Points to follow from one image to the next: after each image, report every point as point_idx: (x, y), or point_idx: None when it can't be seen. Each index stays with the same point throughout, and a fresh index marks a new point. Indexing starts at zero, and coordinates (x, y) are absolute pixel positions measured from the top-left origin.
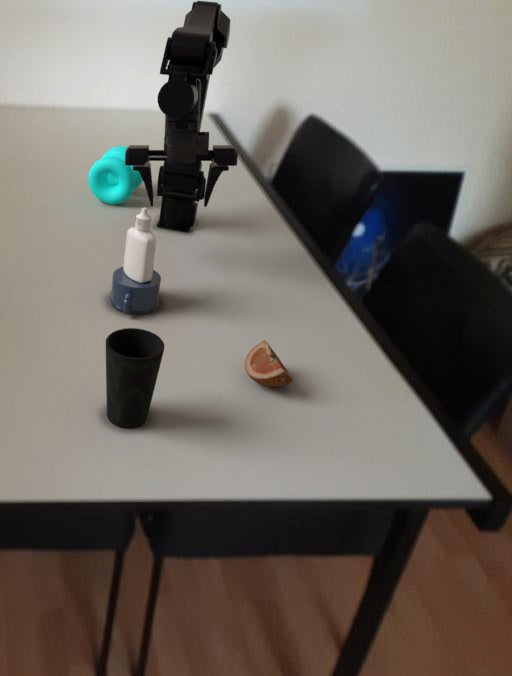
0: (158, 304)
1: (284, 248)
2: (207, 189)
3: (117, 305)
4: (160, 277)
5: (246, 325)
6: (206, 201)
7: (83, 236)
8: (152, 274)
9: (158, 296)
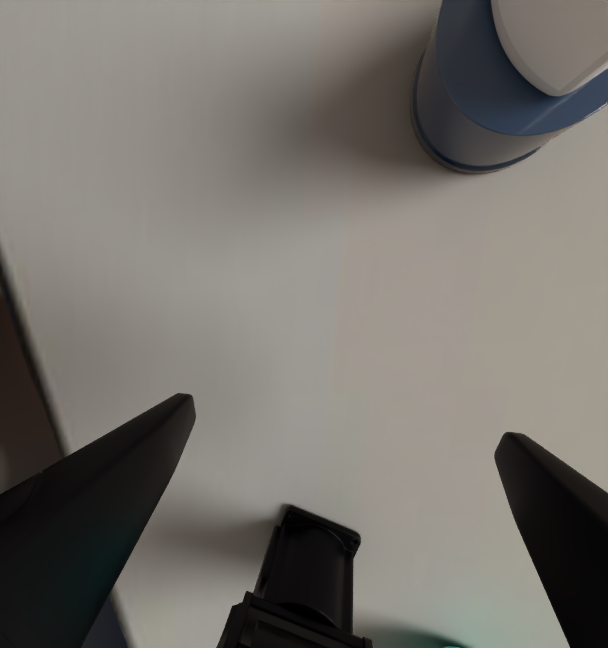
0: (415, 74)
1: (96, 433)
2: (95, 471)
3: None
4: (438, 33)
5: (177, 20)
6: (163, 410)
7: None
8: (469, 57)
9: (425, 51)
